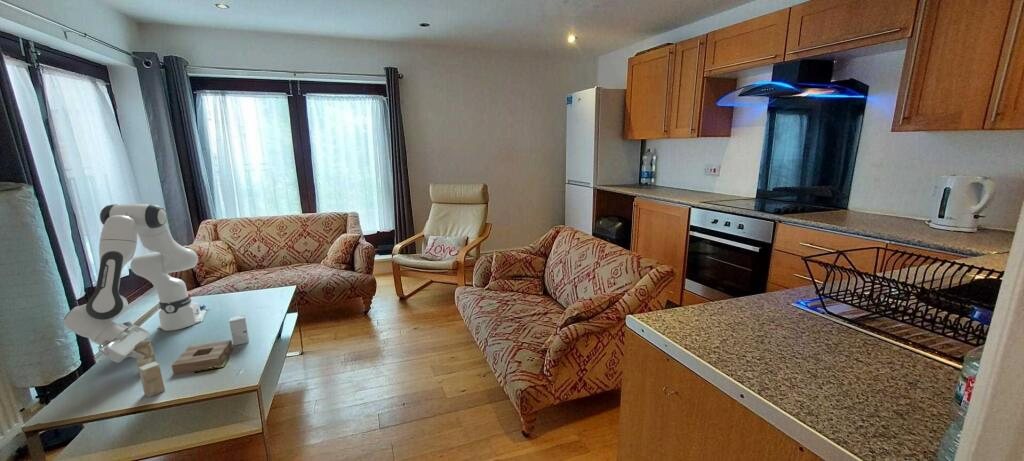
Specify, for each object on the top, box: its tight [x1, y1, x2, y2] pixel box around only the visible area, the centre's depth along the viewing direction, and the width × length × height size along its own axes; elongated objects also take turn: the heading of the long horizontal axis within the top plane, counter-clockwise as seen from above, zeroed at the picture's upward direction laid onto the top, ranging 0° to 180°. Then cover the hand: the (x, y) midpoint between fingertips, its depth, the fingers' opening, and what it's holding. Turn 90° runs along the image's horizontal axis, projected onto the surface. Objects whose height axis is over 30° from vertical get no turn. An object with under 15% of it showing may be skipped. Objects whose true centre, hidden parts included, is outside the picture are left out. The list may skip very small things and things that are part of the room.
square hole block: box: [171, 339, 234, 375], centre depth 173 cm, size 16×16×4 cm
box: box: [137, 361, 166, 398], centre depth 152 cm, size 5×4×11 cm
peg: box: [134, 339, 157, 367], centre depth 167 cm, size 4×4×12 cm
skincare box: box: [228, 314, 250, 346], centre depth 187 cm, size 6×4×12 cm
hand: (148, 353), depth 167 cm, fingers closed on peg, 4 cm apart
